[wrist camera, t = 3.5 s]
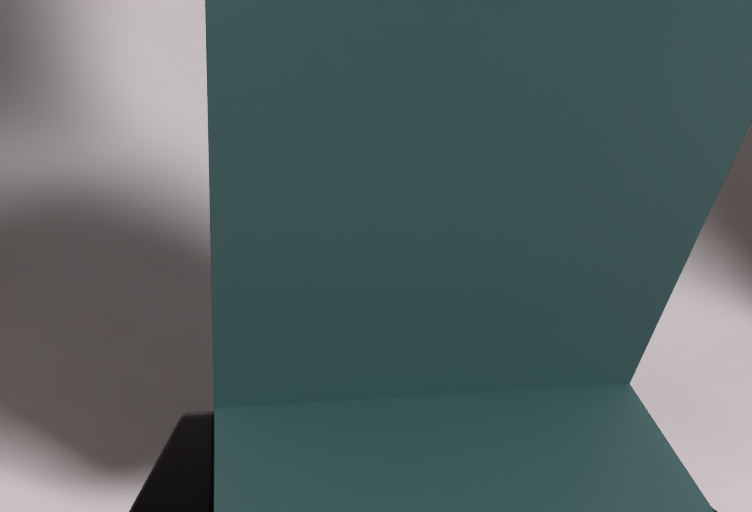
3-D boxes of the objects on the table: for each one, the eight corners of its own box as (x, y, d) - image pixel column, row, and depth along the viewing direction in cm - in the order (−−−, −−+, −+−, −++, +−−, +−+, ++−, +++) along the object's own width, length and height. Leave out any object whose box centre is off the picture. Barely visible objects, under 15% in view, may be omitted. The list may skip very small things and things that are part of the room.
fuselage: (450, 520, 12) (534, 790, 9) (220, 543, 11) (221, 851, 8) (727, -392, 5) (1492, -626, 2) (201, -512, 4) (159, -1219, 1)
